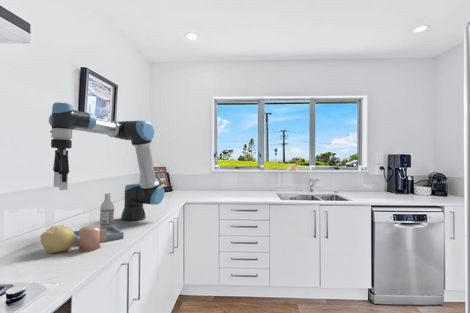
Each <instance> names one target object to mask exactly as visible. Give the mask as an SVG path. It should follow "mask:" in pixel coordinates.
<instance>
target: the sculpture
mask: <svg viewBox="0 0 470 313" xmlns="http://www.w3.org/2000/svg"><path fill="white" fill-rule="evenodd" d="M73 231H74V230H73V229H71V228H70V227H68V226H65V225H64V224H62V225H52V226H51V227H50V228H48V229H46V230H45V231H44V232H43V233H41V235H40V244H41V245H42V247H43V248H44V250H45V251H46V252H48V253H49V254H50V253H51V254H53V253H59V252H60V253H61V252H64V251H69V250H70V249H71V248H72V247H73V246H74V244H75V242H74V241H75V235H74V232H73Z"/></svg>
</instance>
